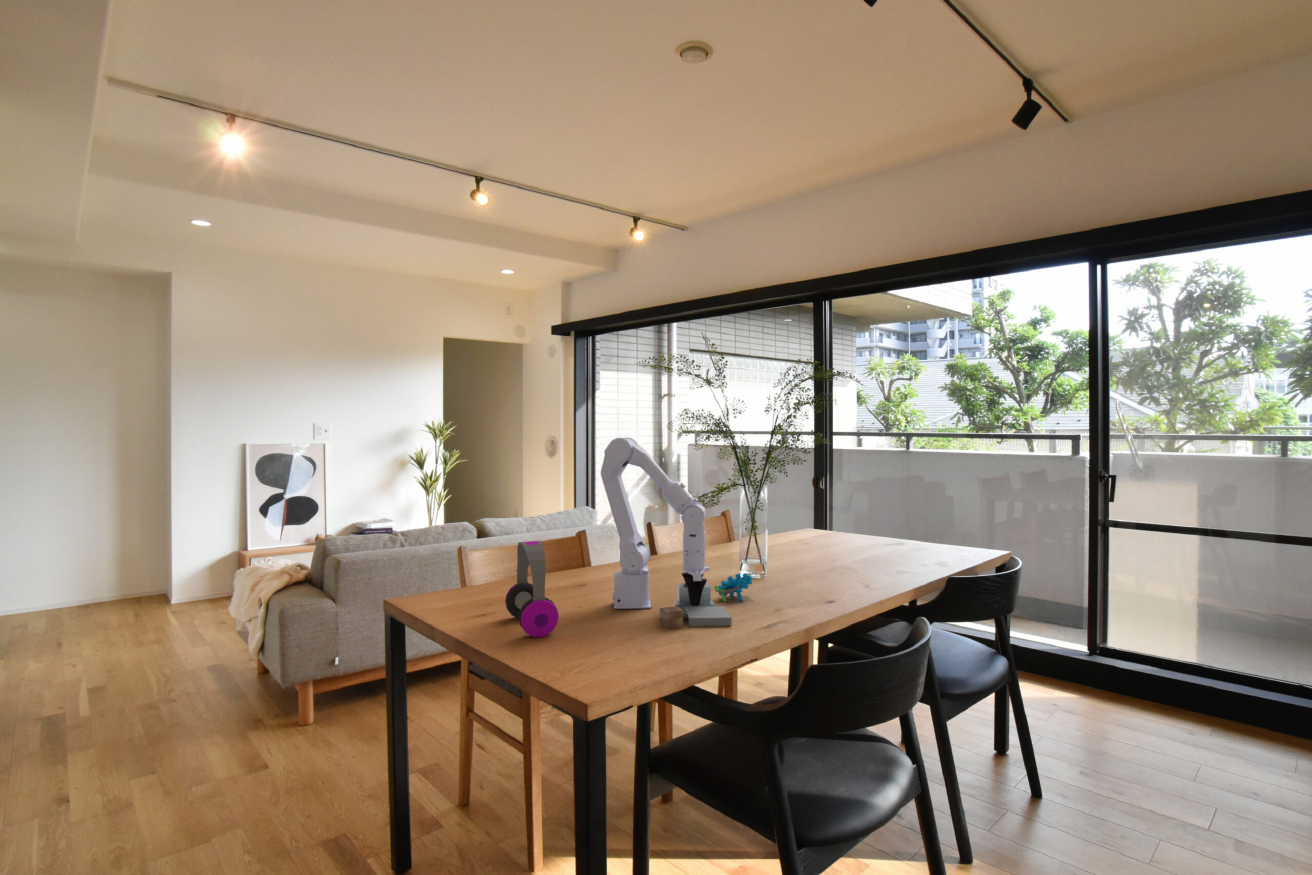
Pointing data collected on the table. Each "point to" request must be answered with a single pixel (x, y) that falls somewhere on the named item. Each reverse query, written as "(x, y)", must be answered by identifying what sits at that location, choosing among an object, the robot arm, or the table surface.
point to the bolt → (660, 614)
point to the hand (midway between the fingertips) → (693, 602)
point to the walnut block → (671, 617)
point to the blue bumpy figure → (734, 586)
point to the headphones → (532, 592)
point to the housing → (685, 600)
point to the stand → (708, 616)
